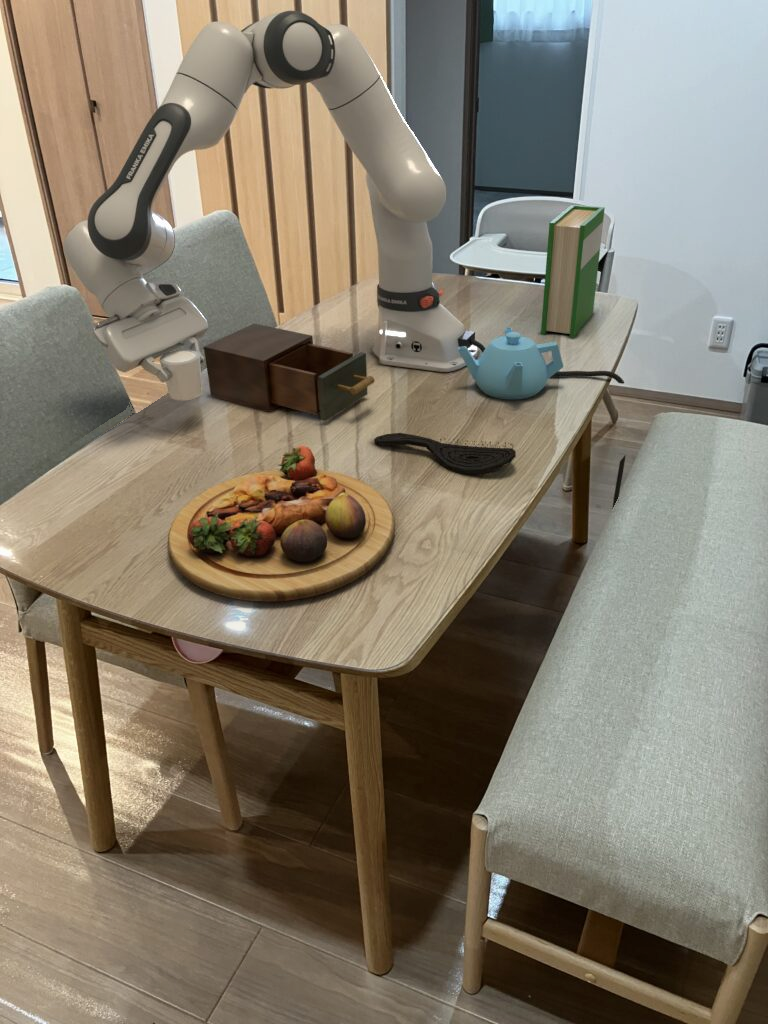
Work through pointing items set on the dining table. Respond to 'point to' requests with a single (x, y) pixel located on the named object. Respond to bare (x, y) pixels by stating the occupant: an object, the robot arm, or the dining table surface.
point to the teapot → (512, 366)
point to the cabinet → (248, 363)
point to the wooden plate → (281, 532)
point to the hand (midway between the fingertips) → (184, 371)
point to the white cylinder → (183, 374)
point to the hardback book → (572, 269)
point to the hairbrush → (455, 453)
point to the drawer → (318, 380)
